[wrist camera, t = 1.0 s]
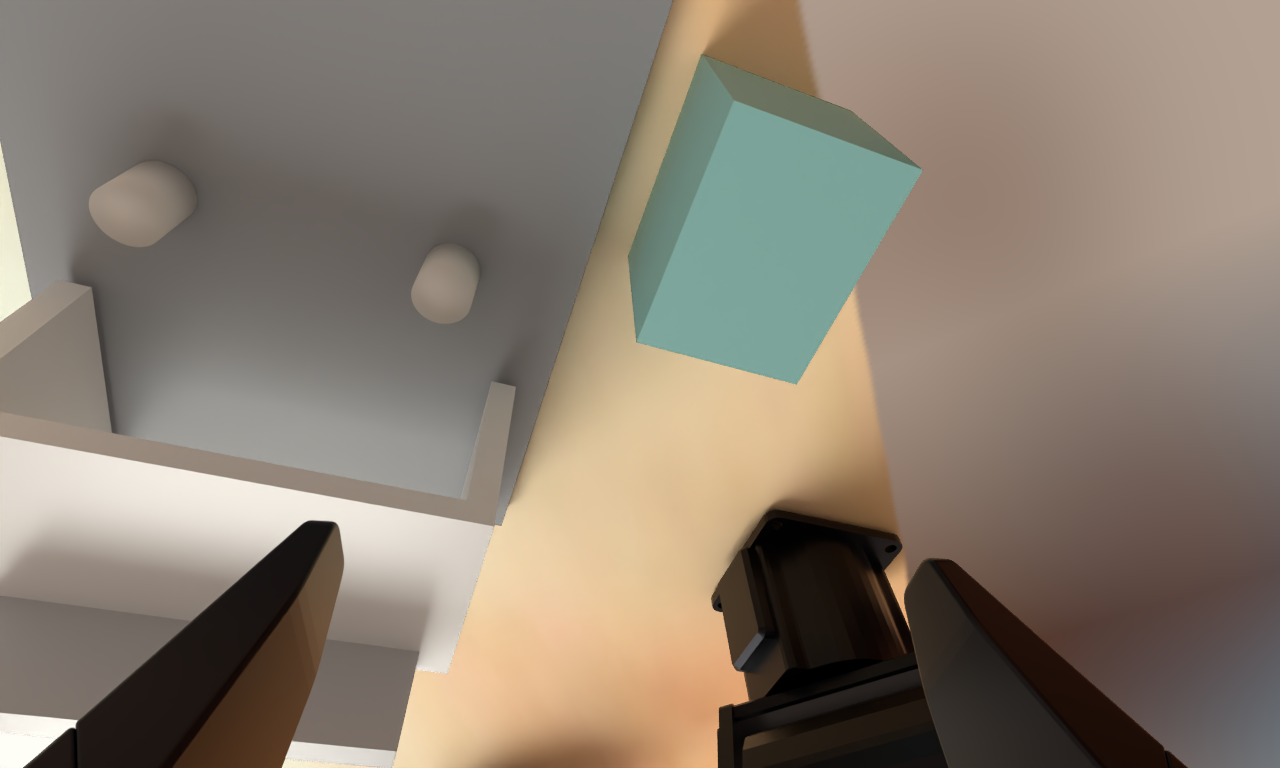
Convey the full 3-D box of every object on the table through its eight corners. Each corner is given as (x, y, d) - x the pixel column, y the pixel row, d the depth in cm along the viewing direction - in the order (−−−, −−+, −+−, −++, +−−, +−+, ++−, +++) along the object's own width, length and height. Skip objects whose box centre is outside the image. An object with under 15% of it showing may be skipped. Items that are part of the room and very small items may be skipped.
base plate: (701, -101, 15) (717, -100, 13) (503, 510, 27) (495, 562, 25) (-82, -445, 12) (-228, -519, 10) (75, 429, 23) (24, 482, 21)
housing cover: (515, 386, 22) (479, 627, 15) (474, 527, 26) (429, 771, 18) (59, 280, 19) (-271, 517, 12) (89, 457, 23) (-146, 719, 15)
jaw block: (850, 110, 18) (923, 170, 14) (758, 294, 22) (796, 384, 18) (700, 53, 17) (733, 100, 13) (628, 255, 21) (636, 342, 17)
